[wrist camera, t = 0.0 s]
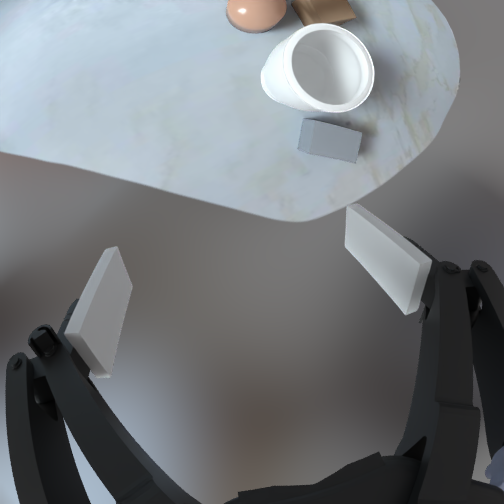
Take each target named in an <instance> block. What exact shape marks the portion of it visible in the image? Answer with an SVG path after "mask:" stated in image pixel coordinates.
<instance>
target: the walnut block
mask: <svg viewBox="0 0 504 504" xmlns="http://www.w3.org/2000/svg"><path fill="white" fill-rule="evenodd" d="M291 5H292V6H293V8H294V10H295V11H296V13H297V15H298V16H299V18H300V20H301V21H302V23H303V25H304V27H305V26H308V25H311V24H317V23H326V24H332V25H336V26H339V25H341V24H343V23H346V22H348V21H350V20H352V19H355V18H357V17H356V16H355V14H354V12H353V10H352V8H351V6H350V5H349V3H348V1H347V0H294V1H293V2H292V3H291Z"/></svg>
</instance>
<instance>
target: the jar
mask: <svg viewBox="0 0 504 504" xmlns="http://www.w3.org/2000/svg"><path fill="white" fill-rule="evenodd" d="M261 83H262V86H263V89H264V90H265V92H266V93H267V95H268V96H269V97H271V98H272V99H273V100H275V101H277V102H279V103H282V104H285V105H287V106H289V107H292V108H294V109H298V110H302V111H308V112H320V111H323V112H330V113H338V112H345V111H349V110H352V109H354V108H356V107H357V106H359V105H360V104H361V103H363V102H364V101H365V99H366V98H367V97H368V95H369V94H370V92H371V89H372V87H373V83H374V66H373V62H372V59H371V56H370V54H369V52H368V50H367V49H366V47H365V46H364V45H363V43H362V42H361V41H360V40H359V39H358V38H357V37H356V36H355V35H353V34H352V33H351V32H349V31H347V30H346V29H344V28H341V27H339V26H336V25H332V24H326V23H317V24H311V25H308V26H305V27H303V28H301V29H299V30H297V31H296V32H294V33H293V34H292V35H291V36H290V37H288V38H286V39H285V40H283V41H282V42H280V43H279V44H278V45H277V46H276V47H275V48H274V49H273V51H272V52H271V53H270V55H269V57H268V59H267V62H266V64H265V65H264V67H263V69H262V72H261Z"/></svg>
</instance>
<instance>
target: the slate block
mask: <svg viewBox="0 0 504 504" xmlns="http://www.w3.org/2000/svg"><path fill="white" fill-rule="evenodd" d="M361 138H362V132H358V131H355V130H351V129H348V128H344V127H340V126H337V125H333V124H329V123H325V122H321V121H316V120H309V119H303V122H302V127H301V133H300V139H299V144H298V149H299V150H301V151H304V152H306V153H308V154H312V155H318V156H323V157H328V158H333V159H338V160H342V161H347V162H351V163H355V164H356V161H357V157H358V152H359V147H360V143H361Z"/></svg>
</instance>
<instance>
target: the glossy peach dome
mask: <svg viewBox="0 0 504 504" xmlns="http://www.w3.org/2000/svg"><path fill="white" fill-rule="evenodd" d="M286 8H287V6H286V1H285V0H229V1H228V4H227V7H226V16H227V19H228V20H229V22H230V23H231V24H232V25H233V26H234V27H235V28H237V29H238V30H241V31H243V32H247V33H263V32H266V31H268V30H270V29H271V28H273V27H274V26H275V25H276V24H277V23H278V22H279V21H280V20H281V19H282V18H283V16H284V15H285V13H286Z"/></svg>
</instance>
